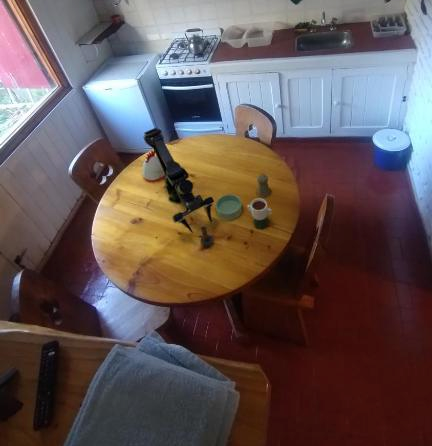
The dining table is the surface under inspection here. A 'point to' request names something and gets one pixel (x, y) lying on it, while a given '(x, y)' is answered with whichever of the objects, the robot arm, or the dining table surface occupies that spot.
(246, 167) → the dining table surface
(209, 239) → the grey peg stand
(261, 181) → the pepper mill
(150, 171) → the kitchen timer
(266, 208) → the character mug
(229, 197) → the bowl
